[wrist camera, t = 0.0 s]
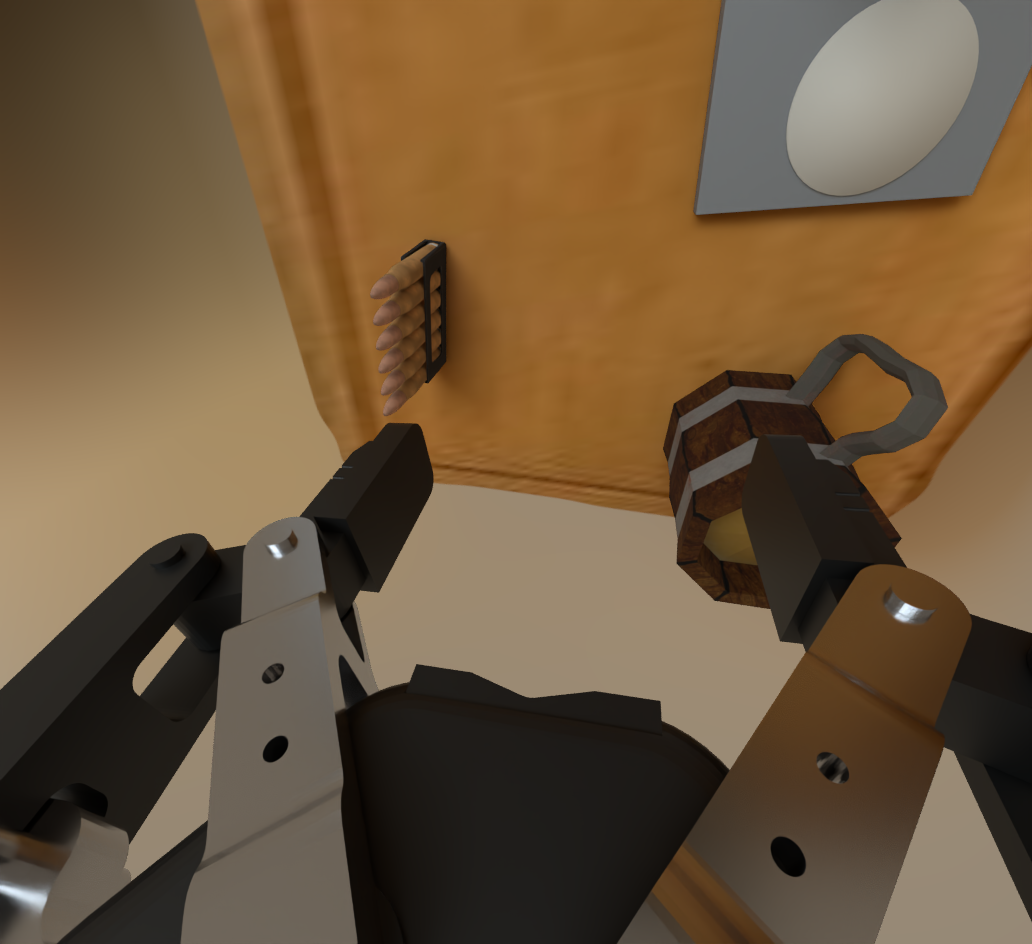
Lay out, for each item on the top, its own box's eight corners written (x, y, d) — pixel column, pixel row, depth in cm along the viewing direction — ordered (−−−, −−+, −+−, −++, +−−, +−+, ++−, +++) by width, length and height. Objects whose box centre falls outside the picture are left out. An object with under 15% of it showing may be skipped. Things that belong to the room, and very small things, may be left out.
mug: (747, 506, 46) (788, 632, 35) (635, 454, 45) (638, 568, 34) (925, 346, 34) (1079, 461, 22) (776, 268, 33) (859, 348, 21)
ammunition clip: (424, 238, 36) (355, 278, 27) (446, 242, 36) (384, 283, 27) (428, 359, 43) (374, 423, 34) (446, 362, 43) (397, 427, 34)
